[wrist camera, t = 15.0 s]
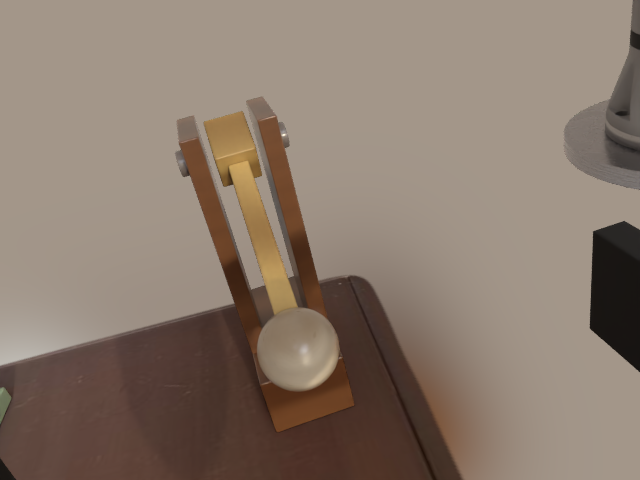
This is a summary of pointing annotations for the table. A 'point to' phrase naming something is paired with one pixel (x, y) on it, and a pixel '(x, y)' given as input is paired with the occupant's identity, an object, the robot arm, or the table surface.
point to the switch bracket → (305, 286)
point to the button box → (3, 402)
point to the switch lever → (273, 271)
